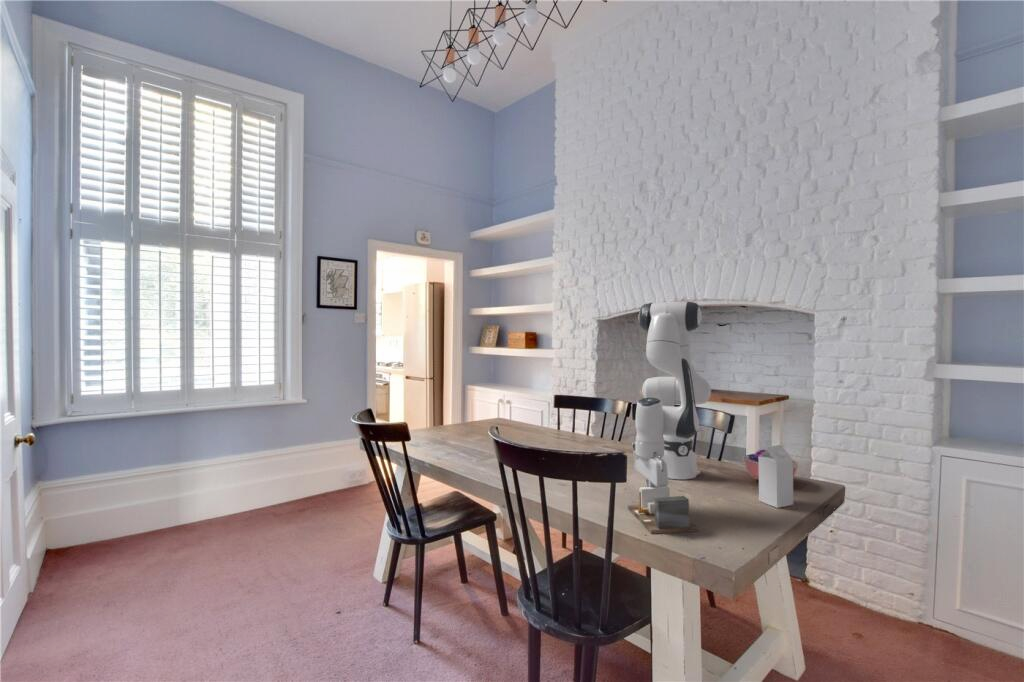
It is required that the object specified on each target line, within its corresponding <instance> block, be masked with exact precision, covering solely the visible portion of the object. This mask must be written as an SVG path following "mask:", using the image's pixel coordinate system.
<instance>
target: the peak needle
mask: <svg viewBox="0 0 1024 682" xmlns="http://www.w3.org/2000/svg"><path fill="white" fill-rule="evenodd" d="M638 500H639V502H638V503H639V509H638V513H648V510H647V509H641V492H639V491H638Z"/></svg>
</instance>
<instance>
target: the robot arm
mask: <svg viewBox="0 0 1024 682" xmlns="http://www.w3.org/2000/svg"><path fill="white" fill-rule="evenodd" d="M702 315H703V314H702V311H701V308H700V305H699V303H697V302H693V301H676V300H674V301H673V300H672V301H670V300H669V301H663V302H655V303H654V302H649V303H645V304H643V305H642V306H641V307H640V309H639V312H638V322H639V326H640V328H642V329H643V330H644V331H646V332H647V337H646V345H645V355H646V359H647V361H648V363H649V364H650V365H651V366H653V367H654V368H656V369H657V370H659V371H661V372H664V373H667V374H668V375H671V376H655V377H649V378H646V379H645V381H644V382H643V384H642V386H641V387H642V388H641V391H642V396H643V398H641V399H639V400H638V401H637V403H636V409H635V418H634V419H635V420H634V421H635V430H636V436H635V442H632V443H631V449H632V450H633V452H632V455H633V465H634V469H635V470H636V471H637V472H638V473H640V475H642V476H643V477H644V482H645V487H665V486H667V487H668V484H669V479H671V480H691V479H695V478H696V477H697V476H699V475H701V470H699V469H698V464H697V455H696V452H694V451H693V449H694V448H693V447H694V446H693V445H694V442H693V439H692V437H694V436H695V435H696V434H697V433H698V432H699V427H700V420H699V416H698V412H697V406H696V405H702V404H703V405H704V404H706V403H707V402H708V401H709V399H710V397H711V395H712V388H711V385H710V383H709V382H708V380H707V379H705V378H704V377H702V376H701V375H700V374H699V373H698V372H697V370H695V368H694V366H693V364H692V359H691V350H690V349H691V346H690V333H689V332H692V331H694V330H696V329H698V328H699V327H700V324H701V322H702V319H703V318H702V317H703V316H702ZM675 405H676V406H675ZM677 405H679V406H677Z"/></svg>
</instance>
